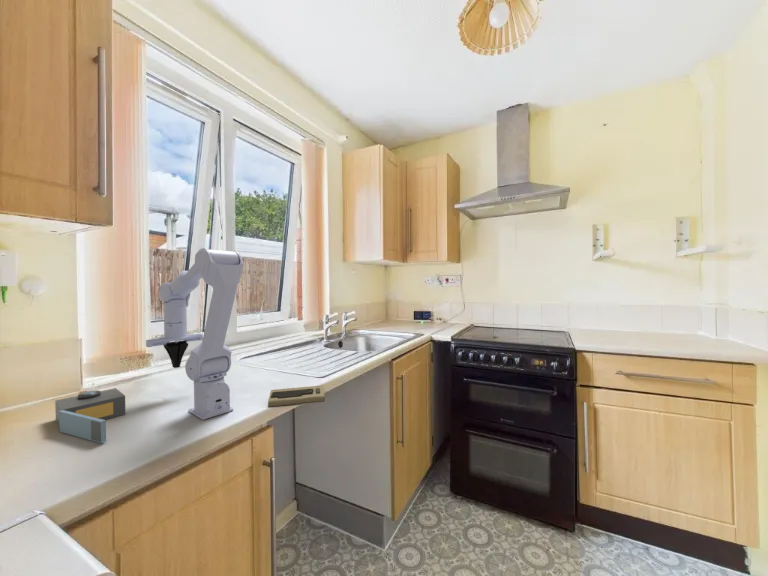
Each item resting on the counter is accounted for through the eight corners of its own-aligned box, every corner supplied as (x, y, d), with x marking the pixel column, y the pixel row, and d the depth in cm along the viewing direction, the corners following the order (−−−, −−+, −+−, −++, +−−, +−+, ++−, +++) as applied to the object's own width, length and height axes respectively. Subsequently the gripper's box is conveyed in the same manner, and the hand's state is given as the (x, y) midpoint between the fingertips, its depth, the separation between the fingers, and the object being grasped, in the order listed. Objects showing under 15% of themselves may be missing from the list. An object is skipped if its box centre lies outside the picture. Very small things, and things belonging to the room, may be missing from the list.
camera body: (125, 414, 84) (125, 392, 84) (61, 431, 75) (60, 406, 75) (116, 405, 90) (115, 384, 90) (55, 419, 81) (55, 396, 81)
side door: (57, 431, 74) (57, 411, 74) (63, 429, 75) (63, 409, 75) (101, 443, 68) (100, 421, 68) (106, 441, 69) (106, 420, 69)
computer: (267, 409, 88) (267, 397, 88) (270, 398, 96) (270, 388, 96) (324, 403, 92) (324, 392, 92) (323, 394, 100) (323, 383, 100)
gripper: (196, 319, 104) (196, 360, 104) (142, 323, 93) (143, 370, 93) (205, 320, 99) (206, 363, 100) (150, 325, 88) (150, 374, 88)
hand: (176, 367), depth 96 cm, fingers closed
